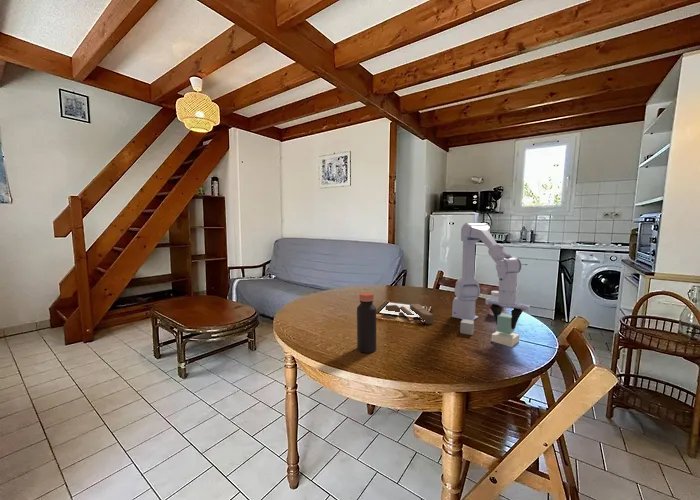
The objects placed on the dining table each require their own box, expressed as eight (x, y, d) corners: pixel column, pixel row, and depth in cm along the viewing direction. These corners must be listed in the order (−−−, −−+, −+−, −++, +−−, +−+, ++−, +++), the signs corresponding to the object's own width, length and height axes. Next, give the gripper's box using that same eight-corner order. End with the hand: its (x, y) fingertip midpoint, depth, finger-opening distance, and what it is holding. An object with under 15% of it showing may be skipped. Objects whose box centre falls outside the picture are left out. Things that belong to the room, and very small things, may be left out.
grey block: (460, 333, 118) (460, 322, 117) (462, 329, 122) (462, 319, 121) (472, 335, 115) (472, 324, 115) (473, 331, 119) (474, 320, 119)
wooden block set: (417, 301, 146) (434, 312, 128) (417, 312, 146) (434, 324, 129) (384, 303, 143) (397, 314, 125) (384, 314, 143) (397, 327, 126)
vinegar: (370, 355, 99) (370, 297, 97) (353, 350, 103) (353, 294, 101) (379, 347, 105) (379, 292, 103) (363, 343, 108) (362, 290, 106)
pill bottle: (506, 315, 139) (507, 292, 138) (498, 317, 136) (499, 294, 134) (493, 311, 144) (494, 289, 143) (486, 314, 141) (486, 291, 140)
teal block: (496, 331, 109) (497, 315, 108) (501, 328, 112) (501, 312, 111) (510, 334, 105) (510, 318, 105) (514, 331, 109) (514, 315, 108)
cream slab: (491, 342, 109) (491, 334, 109) (499, 336, 114) (499, 329, 114) (511, 347, 104) (511, 339, 104) (519, 342, 109) (519, 334, 108)
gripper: (482, 289, 110) (481, 324, 111) (526, 295, 99) (524, 334, 101) (490, 286, 115) (488, 319, 116) (532, 292, 104) (530, 329, 105)
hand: (505, 326), depth 109 cm, fingers closed on teal block, 4 cm apart
